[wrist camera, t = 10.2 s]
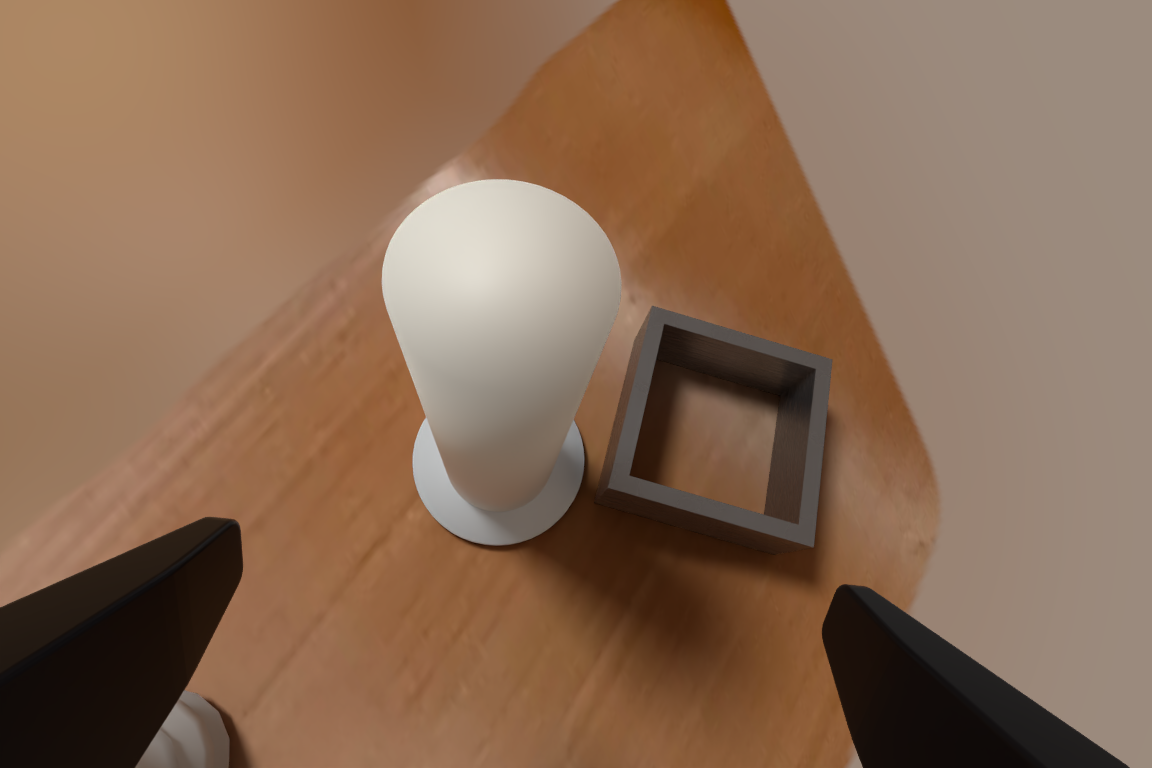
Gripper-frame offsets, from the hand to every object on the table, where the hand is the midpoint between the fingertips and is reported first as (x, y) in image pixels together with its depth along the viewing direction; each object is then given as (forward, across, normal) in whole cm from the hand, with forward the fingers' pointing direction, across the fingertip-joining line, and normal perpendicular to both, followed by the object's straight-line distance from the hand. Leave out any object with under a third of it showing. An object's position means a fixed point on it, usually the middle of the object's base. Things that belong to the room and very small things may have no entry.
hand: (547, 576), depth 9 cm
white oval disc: (+13, +1, +5) cm, 14 cm away
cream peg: (+12, +1, +5) cm, 13 cm away
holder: (+14, -6, +4) cm, 16 cm away
